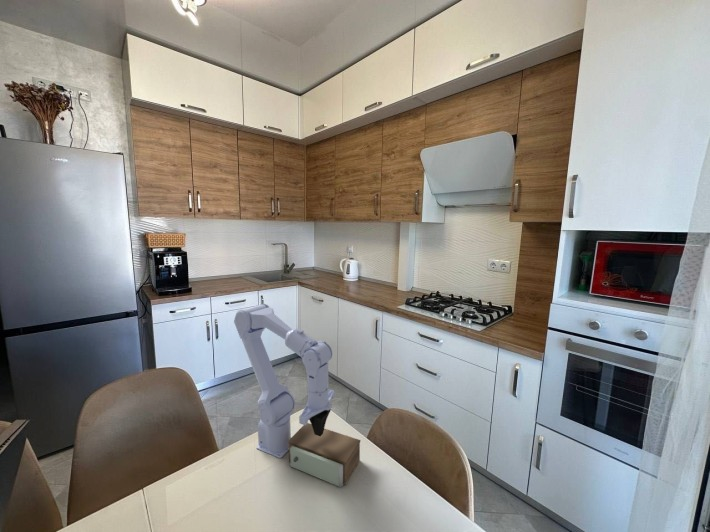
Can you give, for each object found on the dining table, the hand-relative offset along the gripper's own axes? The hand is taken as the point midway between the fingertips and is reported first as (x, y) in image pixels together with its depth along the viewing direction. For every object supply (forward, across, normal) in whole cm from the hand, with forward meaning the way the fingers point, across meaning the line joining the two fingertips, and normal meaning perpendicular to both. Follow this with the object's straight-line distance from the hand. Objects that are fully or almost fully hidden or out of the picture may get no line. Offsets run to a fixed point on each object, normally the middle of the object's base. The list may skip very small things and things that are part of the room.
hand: (318, 433), depth 81 cm
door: (+9, -4, -1) cm, 10 cm away
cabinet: (+9, +2, -1) cm, 10 cm away
